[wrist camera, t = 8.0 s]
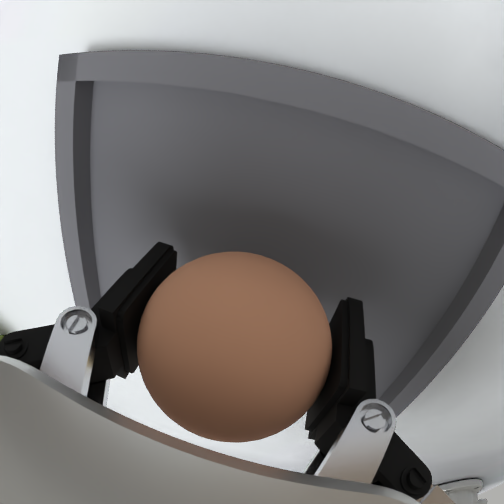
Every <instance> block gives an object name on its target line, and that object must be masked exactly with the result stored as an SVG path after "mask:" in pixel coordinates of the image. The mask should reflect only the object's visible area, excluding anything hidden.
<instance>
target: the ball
mask: <svg viewBox="0 0 504 504" xmlns="http://www.w3.org/2000/svg"><path fill="white" fill-rule="evenodd" d="M137 357H138V364H139V368H140V372H141V375H142V378H143V381H144V383H145V386H146V388H147V389H148V391H149V393H150V395H151V397H152V398H153V400H154V401H155V402H156V404H157V405H158V406H159V407H160V408H161V410H162V411H163V412H164V413H165V414H166V415H167V416H168V417H169V418H170V419H172V420H173V421H174V422H176V423H177V424H178V425H180V426H181V427H183V428H184V429H186V430H188V431H190V432H192V433H194V434H196V435H198V436H201V437H204V438H207V439H211V440H216V441H222V442H248V441H255V440H259V439H263V438H266V437H269V436H271V435H274V434H277V433H278V432H280V431H282V430H284V429H286V428H287V427H289V426H291V425H292V424H293V423H295V422H296V421H297V420H298V419H299V418H301V417H302V416H303V415H304V414H305V413H306V412H307V411H308V409H309V408H310V407H311V406H312V405H313V403H314V402H315V401H316V399H317V398H318V396H319V394H320V392H321V390H322V389H323V387H324V385H325V382H326V379H327V376H328V373H329V369H330V364H331V358H332V338H331V331H330V326H329V322H328V319H327V316H326V313H325V311H324V309H323V307H322V305H321V303H320V301H319V299H318V297H317V296H316V294H315V293H314V292H313V290H312V289H311V288H310V287H309V286H308V284H307V283H306V282H305V281H304V280H303V279H302V278H301V277H300V276H299V275H297V274H296V273H295V272H294V271H292V270H291V269H289V268H288V267H286V266H285V265H283V264H281V263H279V262H277V261H275V260H273V259H270V258H267V257H264V256H262V255H258V254H253V253H248V252H221V253H214V254H210V255H206V256H202V257H200V258H198V259H195V260H193V261H191V262H188V263H186V264H185V265H183V266H181V267H180V268H178V269H177V270H176V271H174V272H173V273H171V274H170V275H169V276H168V277H167V278H166V279H165V280H164V281H163V282H162V283H161V284H160V285H159V286H158V287H157V289H156V290H155V292H154V293H153V295H152V296H151V298H150V299H149V301H148V303H147V305H146V307H145V310H144V312H143V315H142V317H141V320H140V325H139V330H138V335H137Z"/></svg>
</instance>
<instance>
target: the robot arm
mask: <svg viewBox="0 0 504 504" xmlns="http://www.w3.org/2000/svg"><path fill="white" fill-rule="evenodd" d="M176 267H177V251H175V250H174V248H173V246H172V245H169V244H166V243H163V242H157V243H156V244H155V245H154V246H153V247H152V248H151V249H150V250H149V252H148V253H147V254H146V255H145V256H144V257H143V258H142V259H141V260H140V261H139V262H138V263H137V264H136V265H135V266H134V267H133V268H129V269H128V270H126V271H125V272H124V273H123V275H122V276H121V277H120V278H119V279H118V280H117V281H116V282H115V283H114V284H113V285H112V286H111V287H110V289H109V290H108V291H107V292H106V293H105V294H104V295H103V296H102V297H101V298H100V300H99V301H98V302H97V303H96V304H95V305H94V306H93V307H92V309H91V310H90V309H88V308H86V307H82V306H74V307H70V308H68V309H66V310H64V311H63V312H62V313H61V314H60V315H59V316H58V318H57V320H56V323H55V324H54V325H49V326H43V327H38V328H33V329H27V330H22V331H16V332H12V333H9V334H7V335H6V336H4V337H3V338H2V339H1V341H0V504H487V499H480V500H478V498H477V493H478V492H480V491H481V490H482V488H483V482H482V480H479V479H468V480H462V481H457V482H452V483H448V484H443V485H440V486H438V485H436V486H433V485H432V476H431V473H430V471H429V469H428V468H427V466H426V465H425V464H424V463H423V462H422V461H421V460H420V459H419V458H418V457H417V456H416V455H415V453H414V452H413V451H412V450H411V449H410V448H409V447H408V446H407V445H406V444H405V443H404V442H403V441H402V440H401V438H400V437H399V436H398V435H397V434H396V433H395V432H394V430H395V427H396V416H395V414H394V411H393V410H392V409H391V407H390V406H389V405H388V404H386V403H385V402H383V401H381V400H378V399H376V381H375V361H374V346H373V341H372V340H370V339H366V338H365V325H364V311H363V302H362V301H361V300H357V299H354V298H350V297H347V298H346V300H343V299H341V300H340V302H339V304H338V306H337V308H336V311H335V313H334V315H333V317H332V319H331V321H330V323H329V326H330V331H331V338H332V358H331V364H330V369H329V373H328V376H327V379H326V382H325V385H324V387H323V389H322V390H321V392H320V394H319V396H318V398H317V399H316V401H315V402H314V403H313V405H312V406H311V407H310V408H309V409H308V411H307V417H306V424H305V430H309V436H308V439H313V440H315V445H316V446H317V447H318V450H317V452H316V453H315V455H314V456H313V458H312V459H311V461H310V462H309V464H308V465H307V467H306V468H305V470H304V471H303V473H298V472H293V471H288V470H283V469H279V468H274V467H270V466H266V465H261V464H257V463H253V462H250V461H246V460H242V459H239V458H235V457H232V456H228V455H225V454H222V453H218V452H215V451H212V450H209V449H206V448H203V447H200V446H197V445H194V444H191V443H188V442H186V441H183V440H180V439H177V438H175V437H172V436H170V435H167V434H165V433H162V432H160V431H157V430H155V429H152V428H150V427H148V426H145V425H143V424H141V423H138V422H136V421H134V420H132V419H130V418H127V417H125V416H123V415H121V414H119V413H117V412H115V411H113V410H111V409H109V408H107V399H108V392H109V385H110V379H112V378H115V376H116V375H118V376H120V377H122V378H124V379H125V378H126V377H127V375H128V374H129V372H130V373H134V372H135V370H136V368H137V367H138V365H139V364H138V357H137V335H138V330H139V325H140V320H141V317H142V315H143V312H144V310H145V307H146V305H147V303H148V301H149V299H150V298H151V296H152V295H153V293H154V292H155V290H156V289H157V287H158V286H159V285H160V284H161V283H162V282H163V281H164V280H165V279H166V278H167V277H168V276H169V275H170V274H171V273H173V272H174V271H176Z"/></svg>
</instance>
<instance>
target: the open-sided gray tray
mask: <svg viewBox="0 0 504 504" xmlns="http://www.w3.org/2000/svg"><path fill="white" fill-rule="evenodd" d="M55 161H56V180H57V193H58V204H59V213H60V222H61V229H62V237H63V243H64V250H65V256H66V262H67V267H68V272H69V278H70V282H71V287H72V292H73V296H74V301H75V305H76V306H82V307H86V308H88V309H90V310H91V309H92V307H93V306H94V305H95V304H96V303H97V302H98V301H99V300H100V298H101V297H102V296H103V295H104V294H105V293H106V292H107V291H108V290H109V289H110V287H111V286H112V285H113V284H114V283H115V282H116V281H117V280H118V279H119V278H120V277H121V276H122V275H123V273H124V272H125V271H126V270H128V269H129V268H133V267H134V266H135V265H136V264H137V263H138V262H139V261H140V260H141V259H142V258H143V257H144V256H145V255H146V254H147V253H148V252H149V250H150V249H151V248H152V247H153V246H154V245H155V244H156V243H157V242H163V243H166V244H169V245H172V246H173V248H174V250H175V251H177V267H176V270H177V269H178V268H180V267H181V266H183V265H185V264H186V263H188V262H191V261H193V260H195V259H198V258H200V257H202V256H206V255H210V254H214V253H221V252H248V253H253V254H258V255H262V256H264V257H267V258H270V259H273V260H275V261H277V262H279V263H281V264H283V265H285V266H286V267H288V268H289V269H291V270H292V271H294V272H295V273H296V274H297V275H299V276H300V277H301V278H302V279H303V280H304V281H305V282H306V283H307V284H308V286H309V287H310V288H311V289H312V290H313V292H314V293H315V294H316V296H317V297H318V299H319V301H320V303H321V305H322V307H323V309H324V311H325V313H326V316H327V319H328V322H329V323H330V321H331V319H332V317H333V315H334V313H335V311H336V308H337V306H338V304H339V302H340V300H341V299H343V300H346V298H347V297H350V298H354V299H357V300H361V301H362V302H363V311H364V325H365V338H366V339H370V340H372V341H373V346H374V361H375V381H376V399H378V400H381V401H383V402H385V403H386V404H388V405H389V406H390V407H391V409H392V410H393V411H394V414H395V416H396V417H397V416H398V415H399V414H400V413H401V412H402V411H403V410H404V409H405V408H406V407H407V406H408V405H409V404H410V403H411V402H412V401H413V400H414V399H415V398H416V397H417V396H418V395H419V394H420V393H421V392H422V391H423V390H424V389H425V388H426V387H427V386H428V384H429V383H430V382H431V381H432V380H433V379H434V378H435V377H436V376H437V374H438V373H439V372H440V371H441V370H442V369H443V368H444V366H445V365H446V364H447V363H448V362H449V360H450V359H451V358H452V357H453V356H454V354H455V353H456V352H457V351H458V349H459V348H460V347H461V346H462V344H463V343H464V342H465V340H466V339H467V338H468V336H469V335H470V334H471V332H472V331H473V330H474V328H475V327H476V326H477V324H478V323H479V321H480V320H481V319H482V317H483V316H484V314H485V313H486V311H487V310H488V308H489V307H490V305H491V304H492V302H493V301H494V299H495V298H496V296H497V295H498V293H499V291H500V290H501V288H502V287H503V285H504V150H503V149H501V148H500V147H498V146H496V145H494V144H493V143H491V142H489V141H487V140H486V139H484V138H482V137H480V136H478V135H476V134H474V133H473V132H471V131H469V130H467V129H465V128H463V127H461V126H459V125H457V124H455V123H453V122H451V121H449V120H446V119H444V118H442V117H440V116H438V115H436V114H433V113H431V112H429V111H426V110H424V109H422V108H419V107H417V106H415V105H412V104H410V103H407V102H405V101H402V100H399V99H397V98H394V97H391V96H389V95H386V94H383V93H380V92H378V91H375V90H372V89H369V88H366V87H363V86H359V85H356V84H353V83H350V82H347V81H343V80H340V79H336V78H333V77H329V76H325V75H321V74H318V73H314V72H310V71H305V70H301V69H297V68H292V67H288V66H283V65H278V64H273V63H267V62H262V61H256V60H250V59H244V58H237V57H229V56H221V55H213V54H203V53H191V52H176V51H151V50H122V51H97V52H83V53H72V54H62V55H59V63H58V73H57V86H56V104H55Z"/></svg>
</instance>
